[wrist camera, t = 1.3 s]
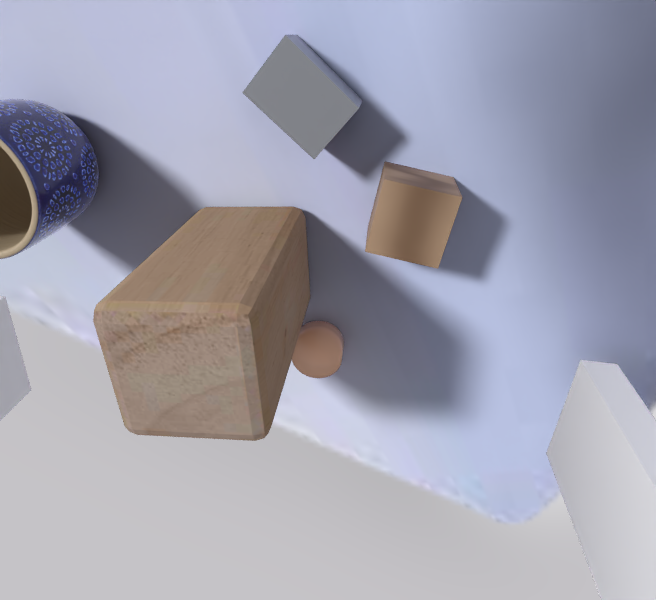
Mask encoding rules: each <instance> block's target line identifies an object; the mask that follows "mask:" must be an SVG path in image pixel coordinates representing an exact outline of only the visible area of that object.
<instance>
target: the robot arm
mask: <svg viewBox="0 0 656 600" xmlns="http://www.w3.org/2000/svg"><path fill="white" fill-rule="evenodd" d="M30 391H31V386H30V383H29V379H28V376H27V372H26V369H25V365H24V361H23V358H22V355H21V351H20V347H19V344H18V340H17V336H16V333H15V329H14V326H13V323H12V319H11V315H10V312H9V308H8V305H7V301H6V297H5V296H0V420H2V419H3V418H4V417H5V416H6V414H8V413H9V412H10V411H11V410H12V408H13V407H14V406H16V405H17V404H18V403H19V402H20V401H21V400H22V399H23V398H24V397H25V396H26V395H27V394H28V393H29V392H30ZM546 454H547V456H548V459H549V462H550V464H551V467H552V470H553V472H554V475H555V478H556V480H557V483H558V486H559V488H560V491H561V494H562V496H563V499H564V502H565V504H566V507H567V510H568V512H569V515H570V517H571V520H572V523H573V526H574V528H575V531H576V534H577V536H578V539H579V542H580V545H581V547H582V550H583V553H584V555H585V558H586V561H587V563H588V566H589V569H590V571H591V574H592V577H593V579H594V582H595V585H596V587H597V590H598V593H599V595H600V598H601V600H656V420H655V418H654V417H653V415H652V414H651V412H650V411H649V410H648V408H647V407H646V405H645V404H644V402H643V401H642V399H641V398H640V396H639V395H638V394H637V392H636V391H635V389H634V388H633V386H632V385H631V383H630V382H629V380H628V379H627V378H626V376H625V375H624V373H623V372H622V370H621V369H620V367H619V366H618V365H617V364H613V363H604V362H595V361H586V360H580V363H579V366H578V368H577V371H576V374H575V376H574V379H573V382H572V385H571V387H570V390H569V393H568V395H567V398H566V401H565V404H564V406H563V409H562V412H561V414H560V417H559V420H558V423H557V425H556V428H555V431H554V433H553V436H552V439H551V442H550V444H549V447H548V450H547V452H546Z"/></svg>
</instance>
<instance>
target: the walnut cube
mask: <svg viewBox="0 0 656 600" xmlns="http://www.w3.org/2000/svg"><path fill="white" fill-rule="evenodd" d="M461 200H462V195H461V193H460V191H459V189H458V186H457V184H456V182H455V180H454V177H450V176H446V175H441V174H437V173H433V172H428V171H424V170H420V169H415V168H411V167H407V166H402V165H398V164H394V163H389V162H384V166H383V170H382V174H381V178H380V182H379V186H378V190H377V194H376V197H375V201H374V205H373V209H372V213H371V217H370V221H369V225H368V231H367V240H366V249H365V252H369V253H373V254H377V255H382V256H386V257H390V258H394V259H399V260H403V261H407V262H412V263H416V264H420V265H425V266H429V267H433V268H438V267H439V264H440V261H441V258H442V255H443V252H444V250H445V247H446V244H447V241H448V238H449V235H450V232H451V229H452V226H453V223H454V220H455V217H456V215H457V212H458V209H459V206H460V203H461Z"/></svg>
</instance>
